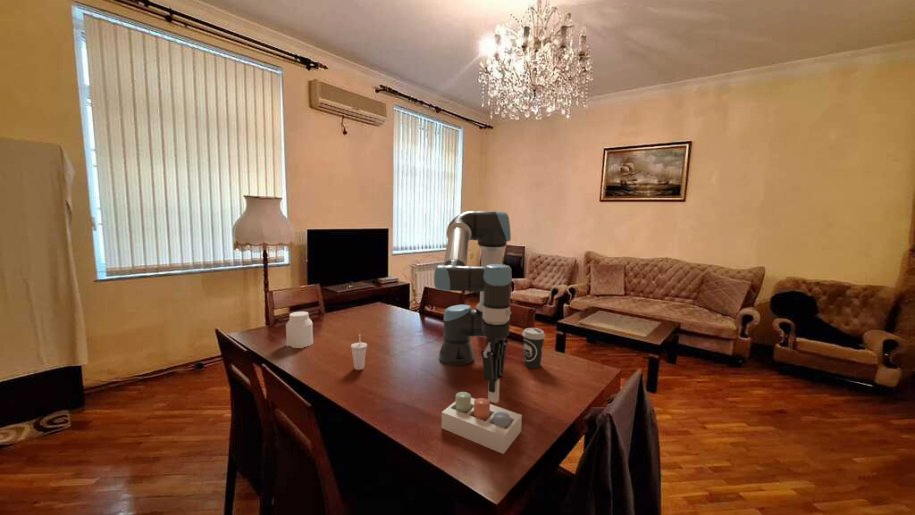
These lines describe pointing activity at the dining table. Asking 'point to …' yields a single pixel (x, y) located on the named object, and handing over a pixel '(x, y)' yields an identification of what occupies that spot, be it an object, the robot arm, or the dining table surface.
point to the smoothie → (359, 354)
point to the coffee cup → (533, 346)
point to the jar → (299, 330)
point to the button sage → (463, 402)
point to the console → (482, 427)
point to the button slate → (501, 420)
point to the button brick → (482, 409)
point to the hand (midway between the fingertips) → (493, 400)
